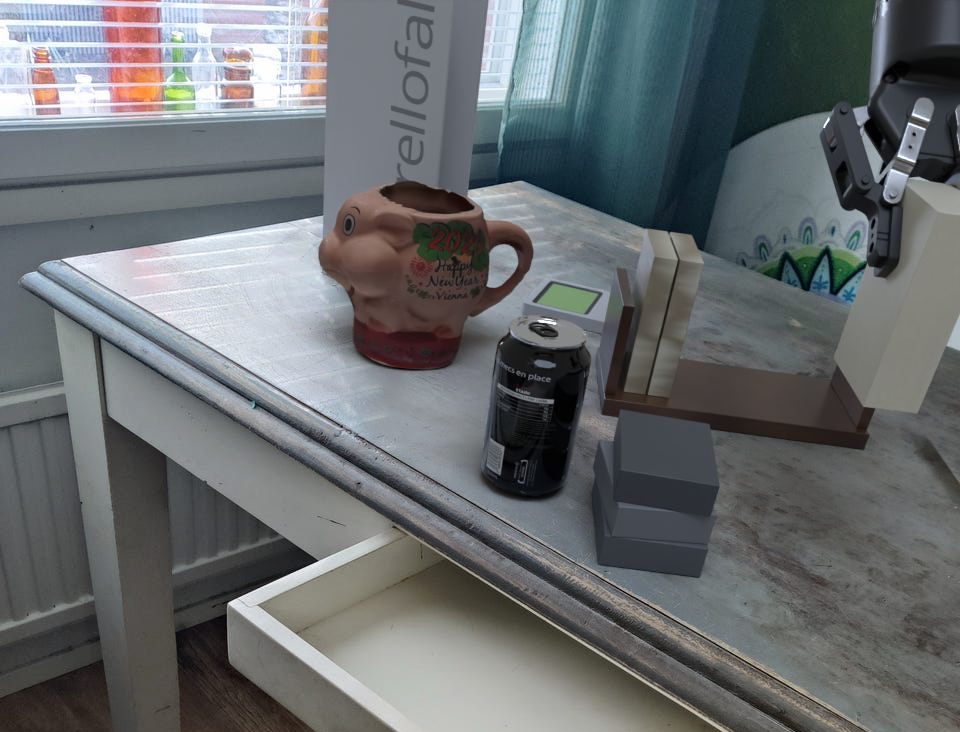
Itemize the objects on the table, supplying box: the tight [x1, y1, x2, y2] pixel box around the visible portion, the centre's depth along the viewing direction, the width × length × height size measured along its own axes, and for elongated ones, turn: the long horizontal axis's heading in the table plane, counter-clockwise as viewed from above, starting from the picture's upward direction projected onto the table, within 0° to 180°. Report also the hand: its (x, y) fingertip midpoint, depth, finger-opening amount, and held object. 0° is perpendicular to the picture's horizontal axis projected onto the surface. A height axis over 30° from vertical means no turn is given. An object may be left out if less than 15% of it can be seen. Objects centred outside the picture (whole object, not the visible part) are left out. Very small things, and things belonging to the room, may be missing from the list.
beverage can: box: [480, 315, 592, 497], centre depth 73 cm, size 7×7×12 cm
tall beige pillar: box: [833, 178, 960, 415], centre depth 63 cm, size 4×8×12 cm, turn 177°
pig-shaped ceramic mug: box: [317, 181, 535, 370], centre depth 90 cm, size 20×12×14 cm, turn 114°
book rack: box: [594, 228, 876, 450], centre depth 89 cm, size 24×12×14 cm, turn 87°
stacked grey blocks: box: [591, 410, 721, 578], centre depth 70 cm, size 8×10×7 cm
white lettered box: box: [321, 0, 490, 276], centre depth 97 cm, size 14×6×30 cm, turn 55°
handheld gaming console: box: [521, 277, 611, 335], centre depth 107 cm, size 10×2×15 cm
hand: (919, 275), depth 61 cm, fingers closed on tall beige pillar, 3 cm apart
